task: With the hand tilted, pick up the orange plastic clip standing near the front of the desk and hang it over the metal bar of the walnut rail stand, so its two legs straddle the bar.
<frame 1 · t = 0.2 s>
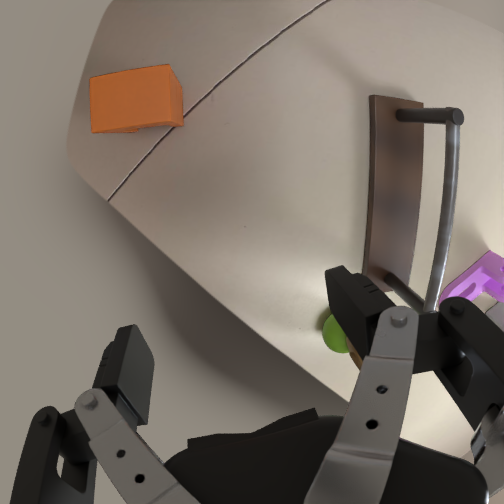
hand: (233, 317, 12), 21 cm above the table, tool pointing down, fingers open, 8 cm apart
snail figurine: (336, 321, 40), on the table
vintage mobile phone: (492, 311, 46), on the table
rail stand: (393, 198, 34), on the table
bracket: (466, 283, 42), on the table
clip: (154, 109, 27), on the table
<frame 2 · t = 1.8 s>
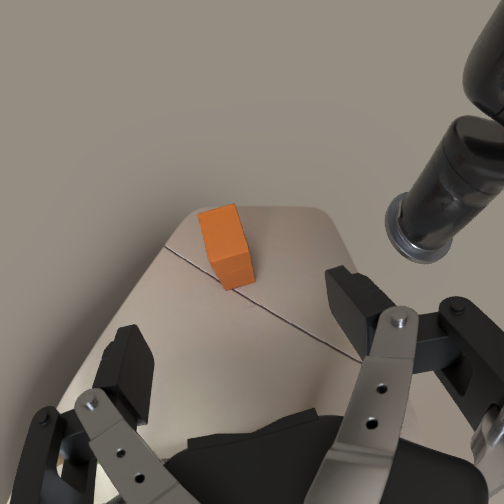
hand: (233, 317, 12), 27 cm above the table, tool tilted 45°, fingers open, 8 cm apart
clip: (234, 266, 41), on the table
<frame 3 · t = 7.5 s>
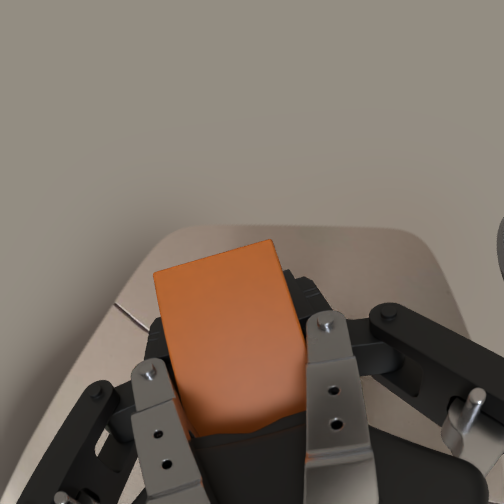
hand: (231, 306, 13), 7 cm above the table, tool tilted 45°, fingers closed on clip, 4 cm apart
clip: (253, 356, 19), on the table, touching gripper
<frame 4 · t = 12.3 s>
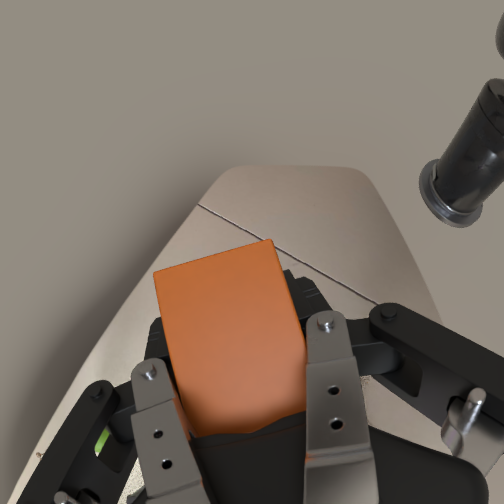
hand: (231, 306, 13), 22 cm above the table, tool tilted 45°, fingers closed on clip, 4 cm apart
snail figurine: (111, 430, 31), on the table
clip: (253, 356, 19), point 15 cm above the table, touching gripper
when the fingers open (11 cm above the table, at t = 17.2 s): clip moves 1 cm, resting on rail stand.
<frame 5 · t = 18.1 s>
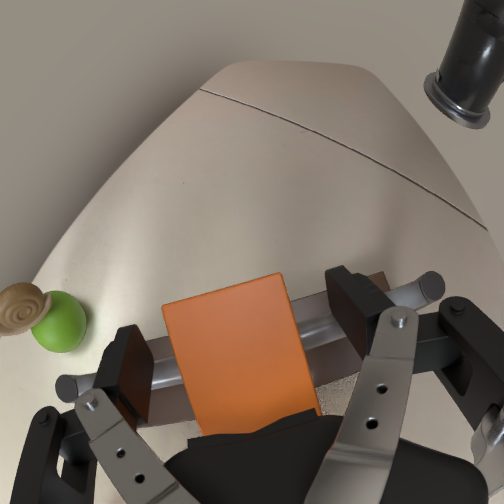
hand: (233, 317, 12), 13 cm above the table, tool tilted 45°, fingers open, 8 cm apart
snail figurine: (72, 330, 25), on the table
rail stand: (256, 359, 24), on the table
clip: (248, 338, 20), point 4 cm above the table, tilted 12°, touching rail stand
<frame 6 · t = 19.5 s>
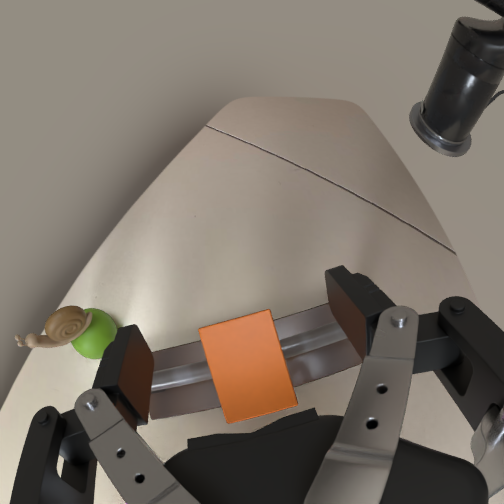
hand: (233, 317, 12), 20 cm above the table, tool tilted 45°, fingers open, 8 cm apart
snail figurine: (103, 339, 32), on the table
rail stand: (256, 362, 30), on the table
clip: (251, 350, 26), point 4 cm above the table, tilted 9°, touching rail stand
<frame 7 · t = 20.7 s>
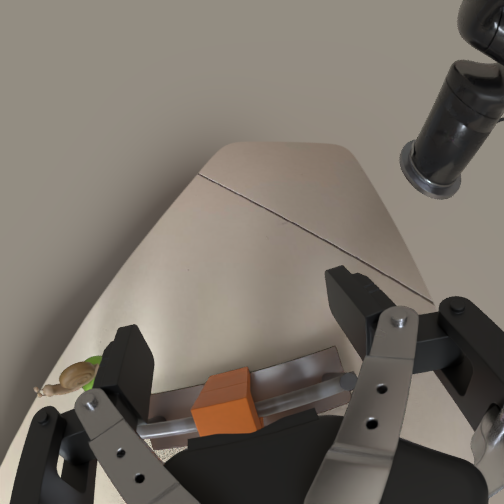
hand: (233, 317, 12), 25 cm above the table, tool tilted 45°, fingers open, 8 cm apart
snail figurine: (108, 380, 35), on the table
rail stand: (243, 404, 33), on the table
clip: (236, 396, 29), point 4 cm above the table, tilted 13°, touching rail stand
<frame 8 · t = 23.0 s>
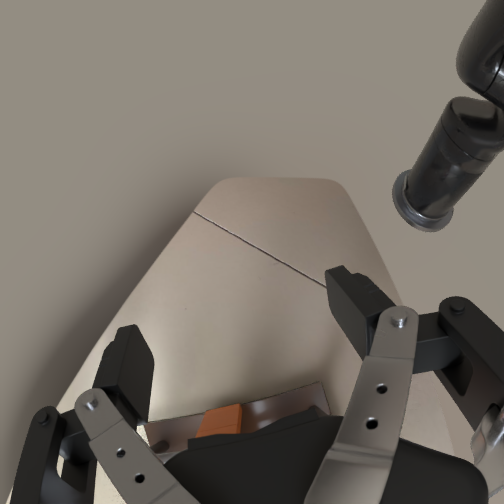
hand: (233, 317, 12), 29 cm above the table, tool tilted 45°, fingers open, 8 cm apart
rail stand: (237, 431, 35), on the table
clip: (230, 427, 32), point 4 cm above the table, tilted 13°, touching rail stand
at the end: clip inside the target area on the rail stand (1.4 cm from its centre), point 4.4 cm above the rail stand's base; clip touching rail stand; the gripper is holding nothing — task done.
